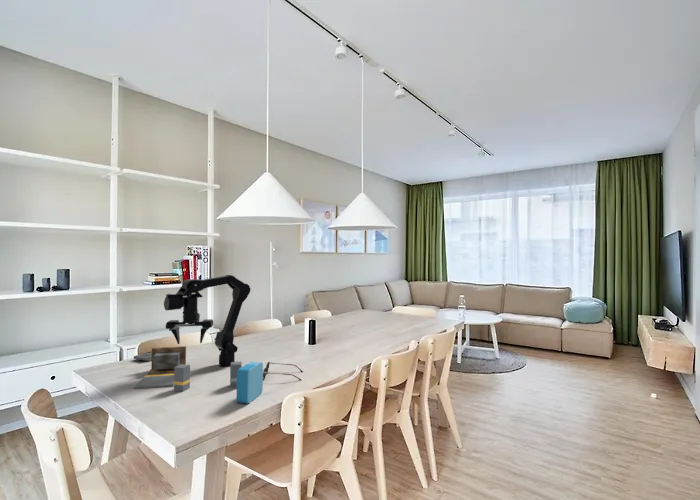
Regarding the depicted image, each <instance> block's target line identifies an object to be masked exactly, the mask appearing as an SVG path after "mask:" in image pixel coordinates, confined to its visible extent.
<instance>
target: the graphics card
mask: <svg viewBox="0 0 700 500" xmlns="http://www.w3.org/2000/svg"><path fill="white" fill-rule="evenodd" d="M133 360H138V361H145V362H152V361H151V360H152V350H151V351H148V352H143V353H140V354H137V355H134V356H133Z"/></svg>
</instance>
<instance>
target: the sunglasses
mask: <svg viewBox="0 0 700 500" xmlns="http://www.w3.org/2000/svg"><path fill="white" fill-rule="evenodd" d="M270 365H285V366H294V367H295V368H297V369H298V370H299V371H300V372H301V373H304V371H303V370H302V369H301V368H300V367H298V366H297V365H295V364H290V363H282V362H281V363H278V362H271V361H268V362H267V363H266V365H265V367H263V380H265V379H266V375H268V374H273V375H274V374H275V375H285V376H293V377H295V379H298V381H302V379H301V378H300V377H298V376H297V375H294V374H292V373H280V372H269V368H270Z"/></svg>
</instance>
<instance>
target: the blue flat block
mask: <svg viewBox="0 0 700 500" xmlns="http://www.w3.org/2000/svg"><path fill="white" fill-rule="evenodd" d="M263 371H264V364H263V362H261V361H249V362H248V363H246V364H244V365H243V366H242V367H241V368H239V369H238V371H237V388H236V397H235V398H236V402H237V403H239V404H248V403H249V404H251V403H252V402H253V401H254V400H255V399H256V397H257V396H258V397H259V396H261V394H262V393H263V389H264V388H263V386H264V385H263V384H264V377H263ZM258 397H257V398H258ZM252 400H253V401H252ZM251 401H252V402H251ZM250 402H251V403H250Z"/></svg>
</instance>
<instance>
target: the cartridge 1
mask: <svg viewBox="0 0 700 500" xmlns="http://www.w3.org/2000/svg"><path fill="white" fill-rule="evenodd" d="M173 374H174V386H173V391H175V392H183V393H184V392H185V391H187V390H189V389H190V388H191V364H186V365H185V364H181V365H178V366H176V367H174V373H173Z"/></svg>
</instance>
